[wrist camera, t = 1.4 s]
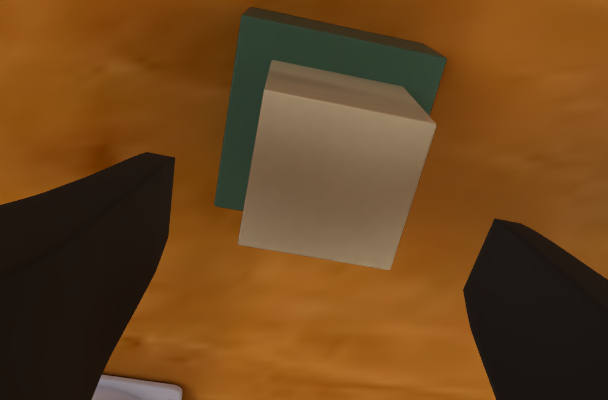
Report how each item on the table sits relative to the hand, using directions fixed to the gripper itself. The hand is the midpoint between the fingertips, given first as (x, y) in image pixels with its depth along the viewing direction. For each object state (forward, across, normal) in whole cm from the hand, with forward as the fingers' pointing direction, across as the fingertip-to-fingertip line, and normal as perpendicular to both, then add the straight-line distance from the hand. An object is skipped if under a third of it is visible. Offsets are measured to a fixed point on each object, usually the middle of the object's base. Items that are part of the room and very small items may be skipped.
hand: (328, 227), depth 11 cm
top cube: (+7, 0, +1) cm, 7 cm away
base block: (+11, 0, +1) cm, 11 cm away
